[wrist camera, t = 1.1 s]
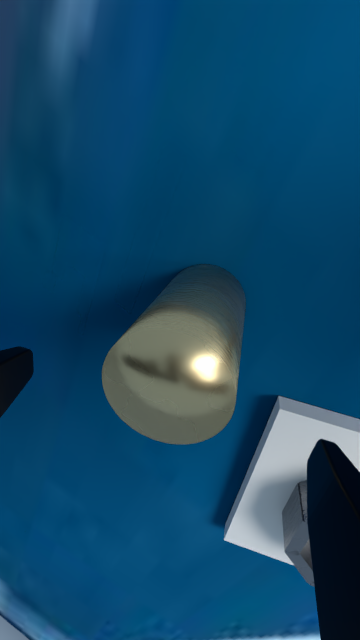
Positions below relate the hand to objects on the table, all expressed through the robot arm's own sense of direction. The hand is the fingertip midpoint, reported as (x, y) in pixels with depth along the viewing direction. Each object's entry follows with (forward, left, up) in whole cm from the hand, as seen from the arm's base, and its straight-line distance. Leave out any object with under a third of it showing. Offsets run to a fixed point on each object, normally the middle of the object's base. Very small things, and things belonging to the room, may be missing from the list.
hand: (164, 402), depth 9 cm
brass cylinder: (0, 0, -9) cm, 9 cm away
